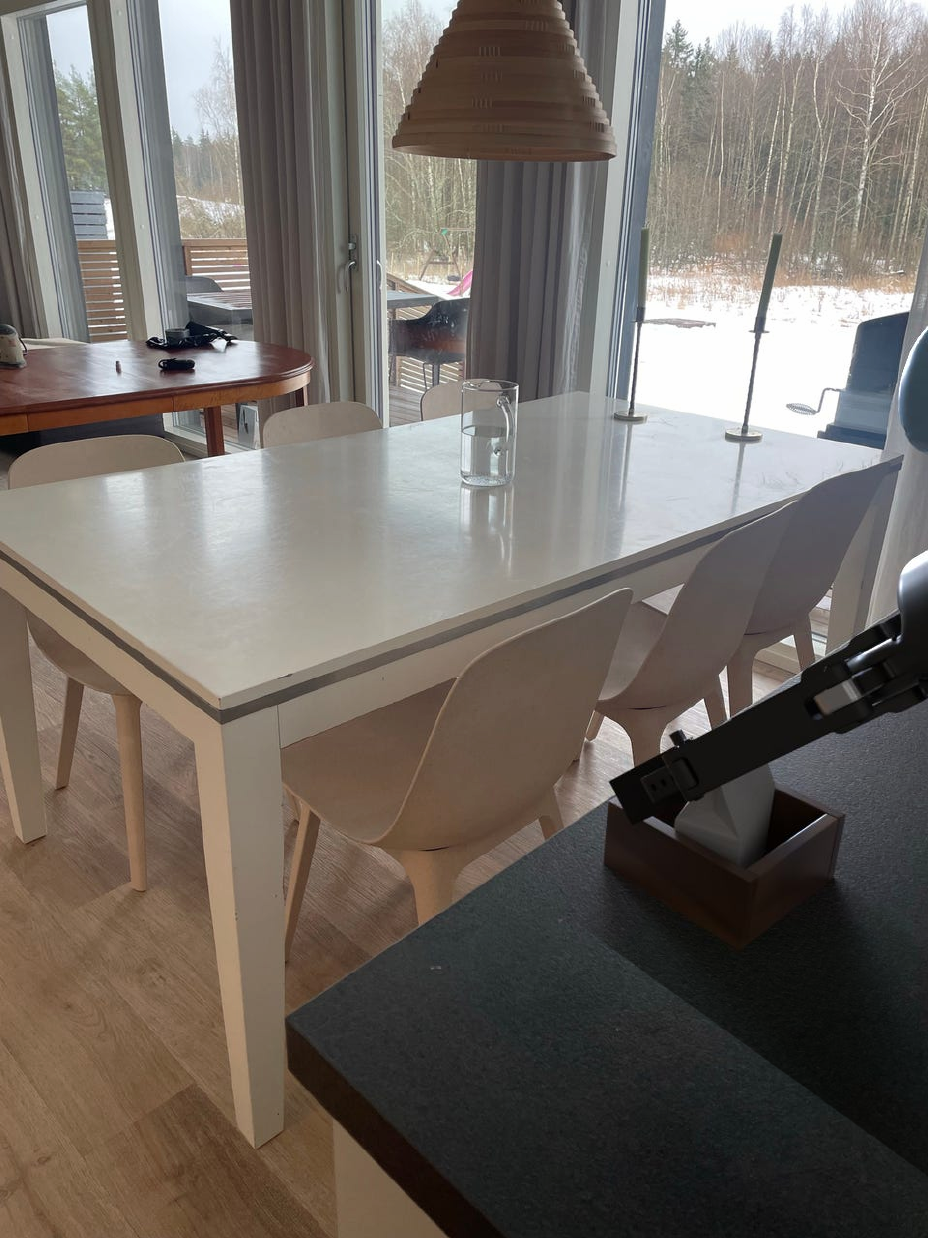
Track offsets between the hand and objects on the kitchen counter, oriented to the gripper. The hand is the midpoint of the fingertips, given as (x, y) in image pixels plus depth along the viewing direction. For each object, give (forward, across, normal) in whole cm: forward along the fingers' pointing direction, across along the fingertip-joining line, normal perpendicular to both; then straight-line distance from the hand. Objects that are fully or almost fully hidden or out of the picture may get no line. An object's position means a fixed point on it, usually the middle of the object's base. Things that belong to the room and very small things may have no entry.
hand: (688, 766), depth 55 cm
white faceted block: (+3, 0, -7) cm, 8 cm away
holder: (+3, 0, -8) cm, 8 cm away
